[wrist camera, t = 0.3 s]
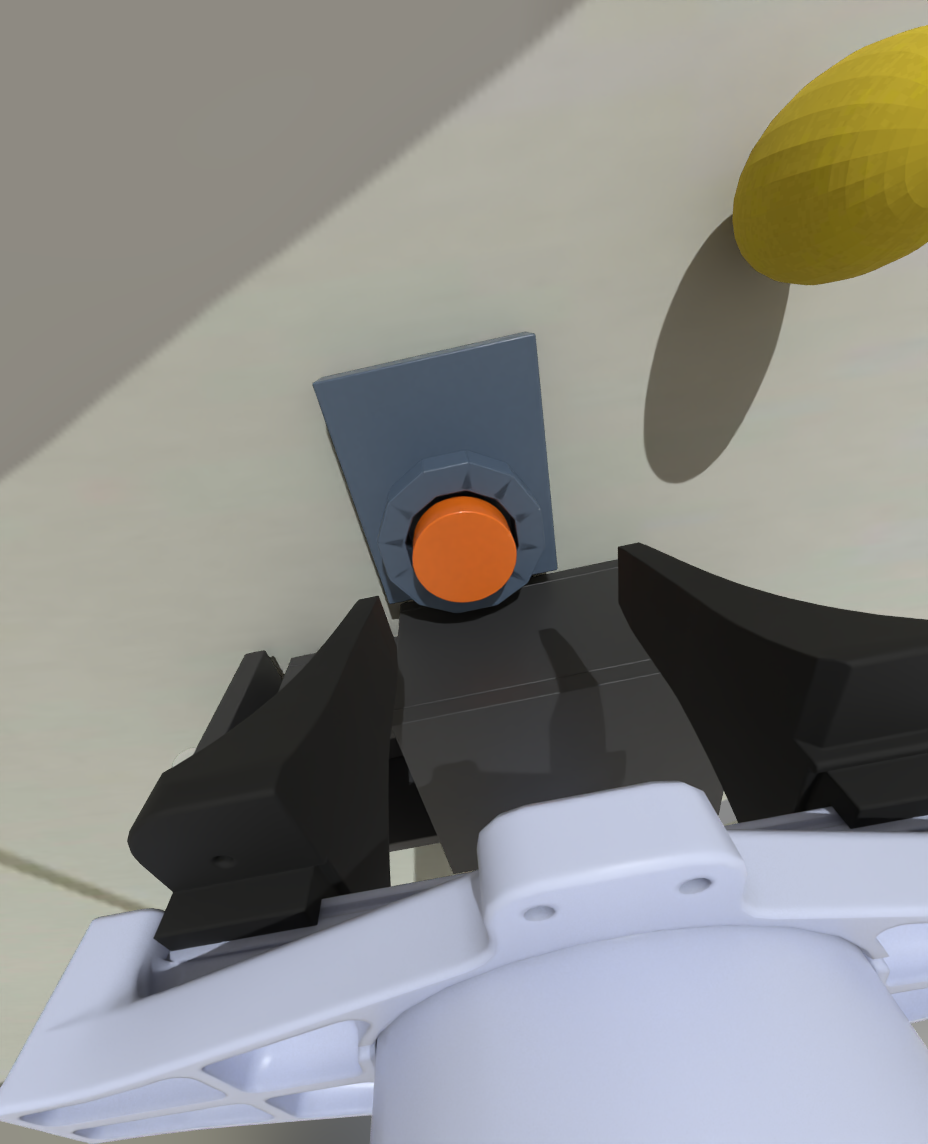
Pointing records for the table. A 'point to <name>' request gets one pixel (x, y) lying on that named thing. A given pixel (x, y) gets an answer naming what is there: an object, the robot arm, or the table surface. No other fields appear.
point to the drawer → (263, 682)
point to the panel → (444, 453)
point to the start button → (463, 549)
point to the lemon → (842, 170)
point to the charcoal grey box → (534, 706)
